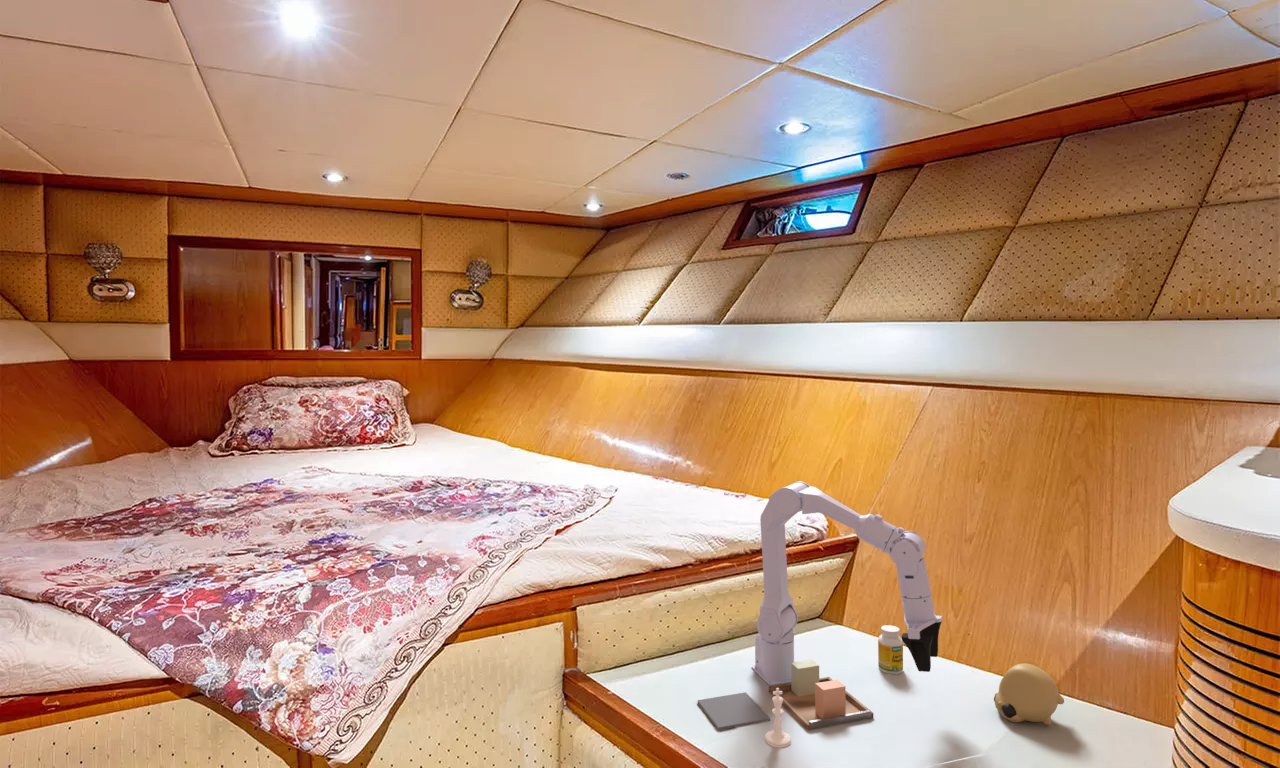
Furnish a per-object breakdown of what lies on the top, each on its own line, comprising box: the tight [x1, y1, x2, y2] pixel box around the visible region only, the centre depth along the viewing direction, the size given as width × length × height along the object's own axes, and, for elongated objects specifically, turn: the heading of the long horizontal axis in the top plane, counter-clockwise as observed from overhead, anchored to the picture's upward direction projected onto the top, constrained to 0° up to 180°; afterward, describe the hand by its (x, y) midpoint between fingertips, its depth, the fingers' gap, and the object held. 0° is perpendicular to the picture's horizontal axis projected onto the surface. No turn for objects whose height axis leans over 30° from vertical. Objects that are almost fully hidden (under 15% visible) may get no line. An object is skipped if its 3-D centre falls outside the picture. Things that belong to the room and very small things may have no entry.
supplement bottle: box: [877, 624, 904, 675], centre depth 154 cm, size 5×5×10 cm
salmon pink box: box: [815, 679, 846, 719], centre depth 134 cm, size 3×5×6 cm, turn 106°
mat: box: [697, 691, 771, 731], centre depth 136 cm, size 11×11×1 cm
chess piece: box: [764, 688, 792, 748], centre depth 126 cm, size 5×5×10 cm
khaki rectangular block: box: [791, 659, 820, 697], centre depth 144 cm, size 3×5×6 cm, turn 106°
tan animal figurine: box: [993, 662, 1065, 726], centre depth 132 cm, size 10×12×11 cm
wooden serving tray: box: [768, 676, 874, 731], centre depth 138 cm, size 16×15×2 cm
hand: (928, 663), depth 133 cm, fingers open, 7 cm apart
